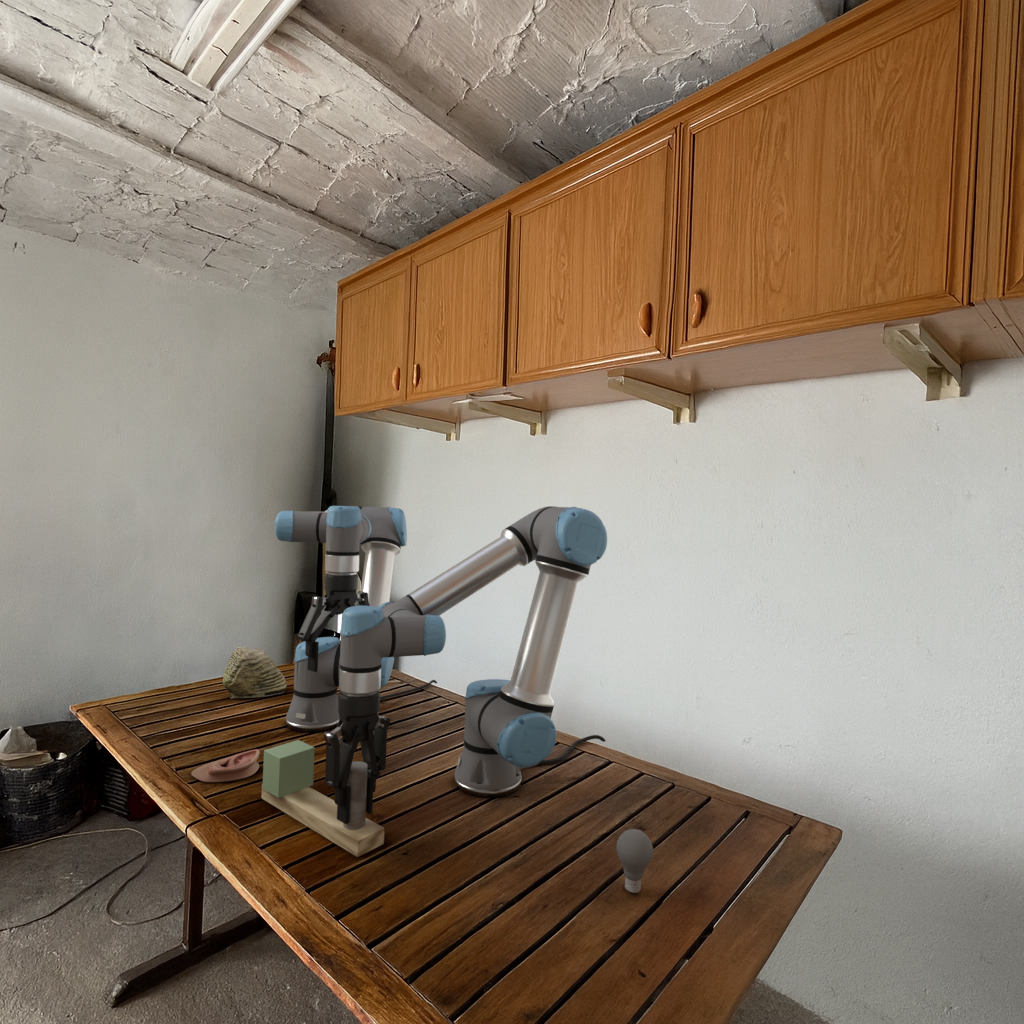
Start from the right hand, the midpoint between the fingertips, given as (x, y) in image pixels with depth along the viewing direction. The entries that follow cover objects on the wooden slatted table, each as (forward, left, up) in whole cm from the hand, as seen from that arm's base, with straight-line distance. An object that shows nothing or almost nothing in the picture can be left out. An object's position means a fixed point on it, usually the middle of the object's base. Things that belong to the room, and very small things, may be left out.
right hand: (354, 815), depth 117 cm
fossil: (+2, -96, -5) cm, 96 cm away
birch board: (+4, -10, -5) cm, 12 cm away
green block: (+7, -21, -2) cm, 22 cm away
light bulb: (-36, +36, -5) cm, 51 cm away
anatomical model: (+17, -40, -5) cm, 44 cm away
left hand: (-5, -30, +20) cm, 37 cm away
